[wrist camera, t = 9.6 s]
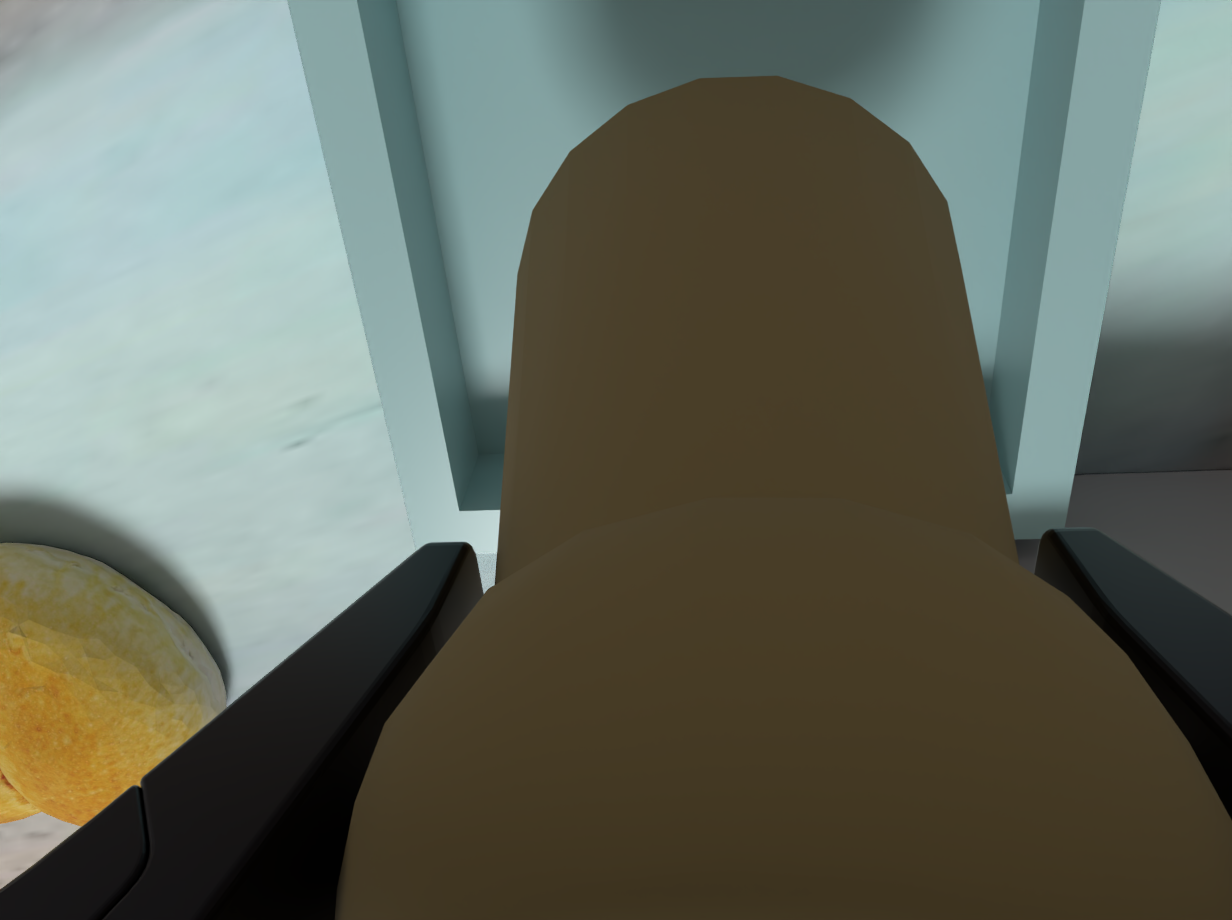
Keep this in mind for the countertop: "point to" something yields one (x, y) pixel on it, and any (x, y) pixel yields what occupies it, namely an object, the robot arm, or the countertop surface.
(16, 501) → the countertop surface
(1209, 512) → the bay
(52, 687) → the bread roll
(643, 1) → the tray
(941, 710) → the cork
